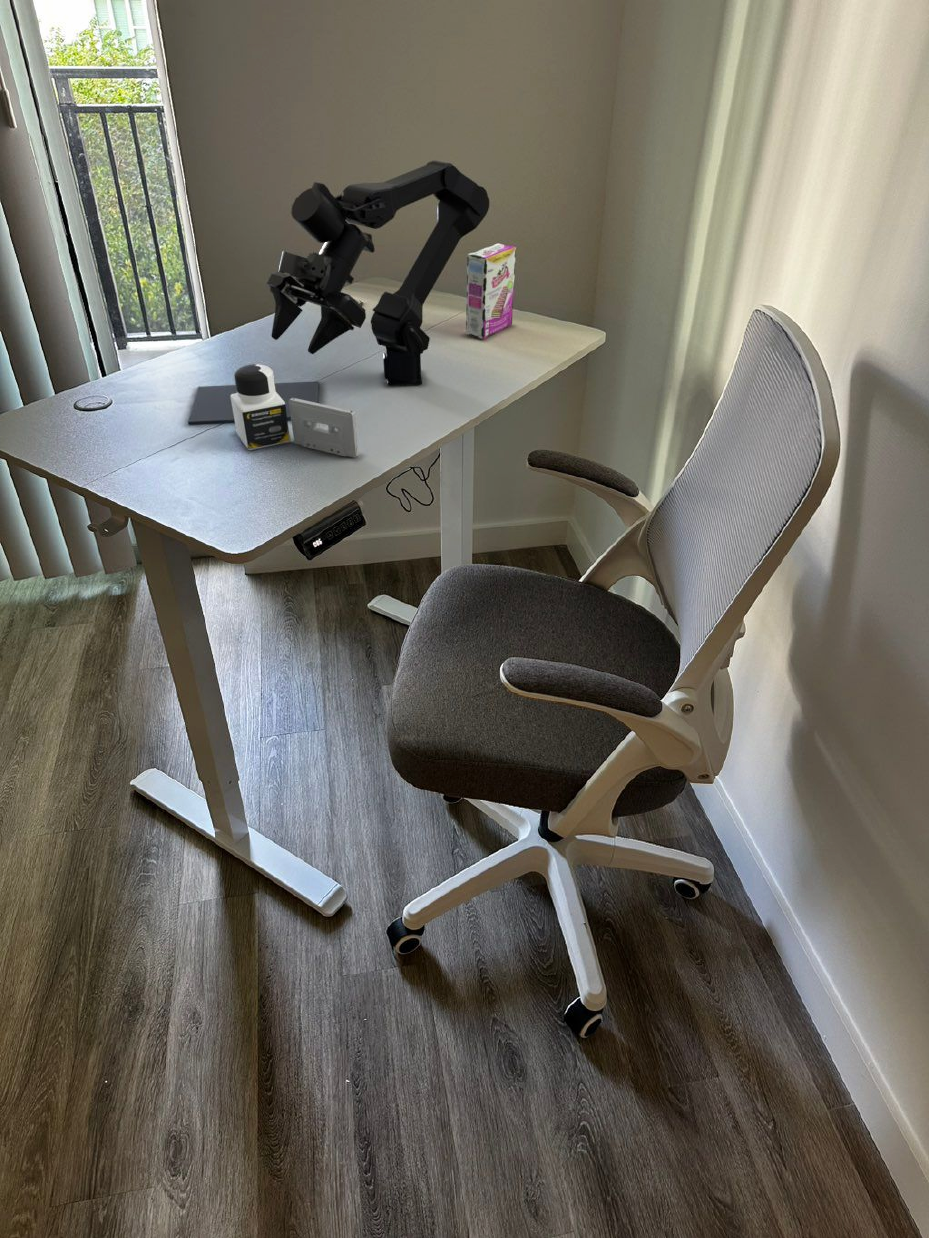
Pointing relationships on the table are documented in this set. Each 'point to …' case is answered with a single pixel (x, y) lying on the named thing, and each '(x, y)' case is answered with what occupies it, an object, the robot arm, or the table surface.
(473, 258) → the candy bar box
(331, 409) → the cassette
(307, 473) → the table surface
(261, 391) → the medicine bottle
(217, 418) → the desk mat
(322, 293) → the robot arm
